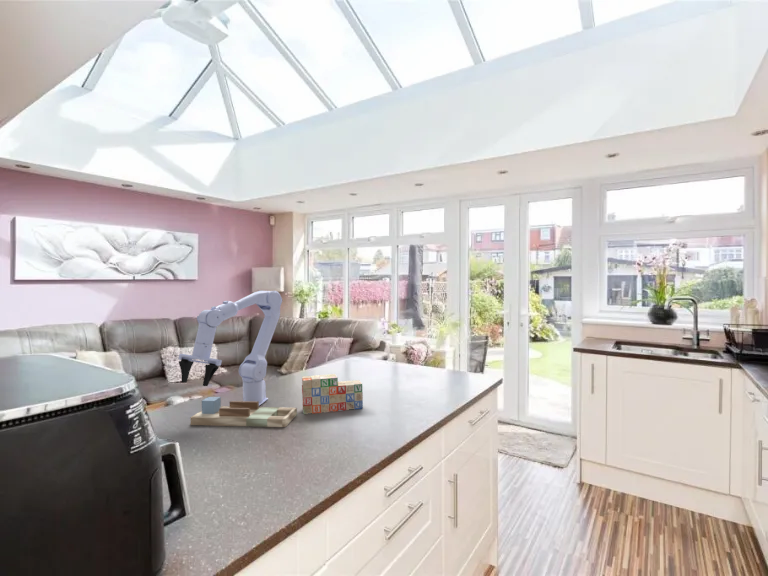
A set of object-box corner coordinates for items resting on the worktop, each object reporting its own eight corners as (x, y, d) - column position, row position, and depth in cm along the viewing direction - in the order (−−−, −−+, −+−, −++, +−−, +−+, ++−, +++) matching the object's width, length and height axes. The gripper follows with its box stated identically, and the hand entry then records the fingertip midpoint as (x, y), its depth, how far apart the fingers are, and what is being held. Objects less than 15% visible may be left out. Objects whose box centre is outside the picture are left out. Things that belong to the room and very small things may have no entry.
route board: (209, 413, 147) (209, 399, 147) (296, 414, 144) (296, 400, 144) (190, 424, 135) (190, 409, 135) (285, 427, 132) (285, 411, 132)
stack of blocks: (359, 404, 156) (359, 371, 155) (363, 409, 149) (362, 375, 149) (302, 409, 150) (301, 375, 150) (303, 414, 144) (302, 379, 144)
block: (208, 409, 143) (208, 396, 143) (220, 409, 142) (220, 397, 142) (201, 413, 138) (201, 400, 138) (214, 413, 138) (214, 400, 138)
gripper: (177, 340, 139) (167, 381, 136) (218, 346, 137) (209, 387, 135) (188, 341, 146) (179, 380, 143) (227, 347, 144) (219, 387, 142)
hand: (194, 384), depth 139 cm, fingers open, 7 cm apart
